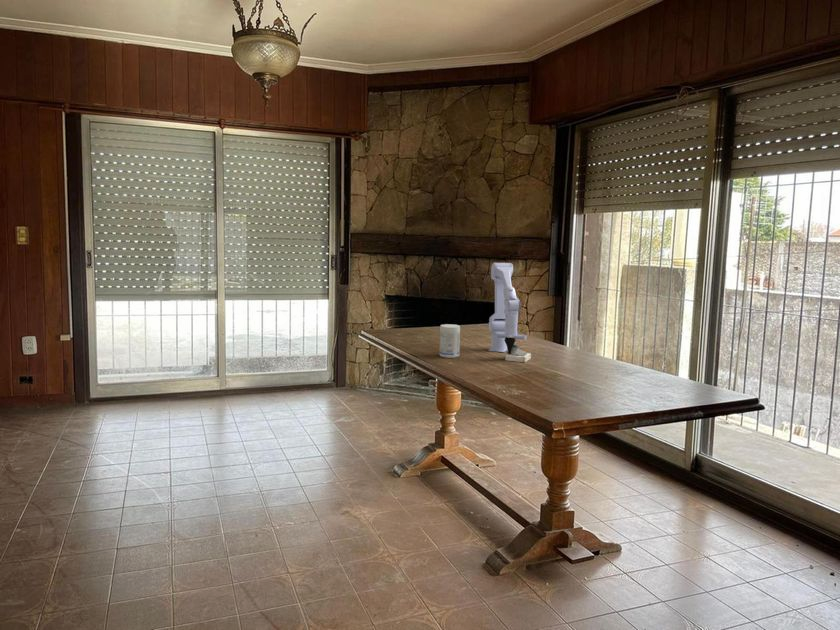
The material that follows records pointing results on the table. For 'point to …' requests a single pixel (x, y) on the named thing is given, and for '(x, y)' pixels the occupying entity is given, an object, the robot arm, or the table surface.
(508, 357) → the bay
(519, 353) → the white box with knobs
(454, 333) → the supplement tub
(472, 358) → the table surface
